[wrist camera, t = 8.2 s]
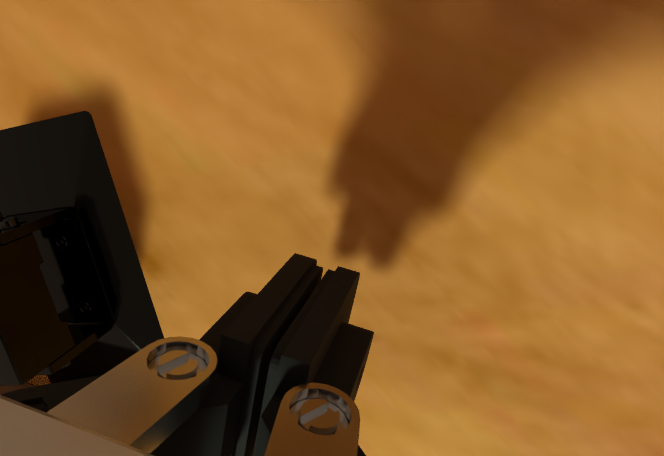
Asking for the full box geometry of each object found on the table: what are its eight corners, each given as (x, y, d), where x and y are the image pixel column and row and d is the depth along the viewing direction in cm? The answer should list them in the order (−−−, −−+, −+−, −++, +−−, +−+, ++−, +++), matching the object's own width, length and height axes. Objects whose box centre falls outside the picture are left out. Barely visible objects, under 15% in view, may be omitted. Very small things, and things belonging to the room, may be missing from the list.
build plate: (-64, 94, 16) (-252, 106, 12) (117, 48, 14) (-32, 43, 10) (60, 411, 20) (-52, 508, 15) (222, 412, 18) (144, 525, 13)
